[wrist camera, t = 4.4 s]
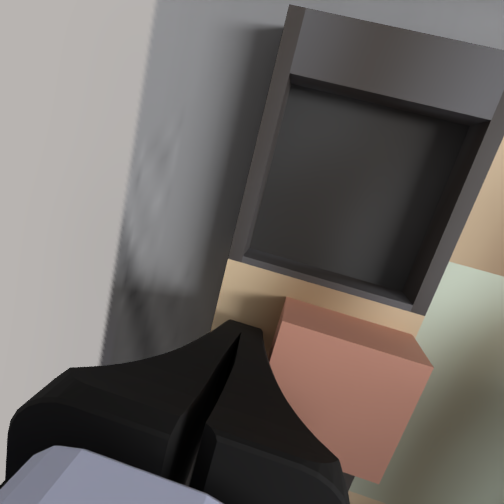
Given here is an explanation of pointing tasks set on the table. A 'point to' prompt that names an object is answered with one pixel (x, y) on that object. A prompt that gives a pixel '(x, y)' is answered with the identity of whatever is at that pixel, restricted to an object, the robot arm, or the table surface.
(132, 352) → the table surface
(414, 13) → the table surface
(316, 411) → the tile block
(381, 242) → the trap board
